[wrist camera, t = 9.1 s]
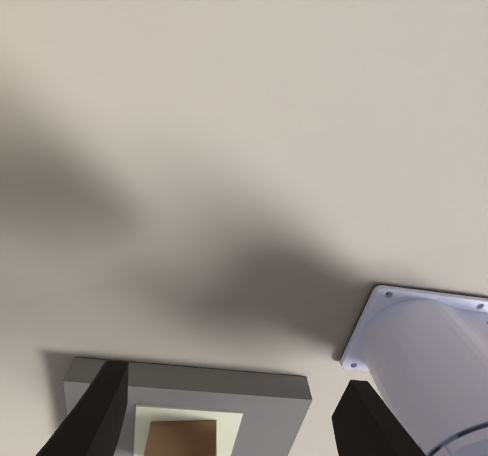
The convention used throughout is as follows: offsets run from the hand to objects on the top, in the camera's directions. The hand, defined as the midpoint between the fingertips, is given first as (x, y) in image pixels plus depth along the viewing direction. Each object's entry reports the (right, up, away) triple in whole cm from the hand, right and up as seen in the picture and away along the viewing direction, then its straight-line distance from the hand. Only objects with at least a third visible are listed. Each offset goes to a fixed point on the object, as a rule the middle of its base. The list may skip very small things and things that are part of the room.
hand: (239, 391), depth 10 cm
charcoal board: (-5, -11, +17) cm, 21 cm away
